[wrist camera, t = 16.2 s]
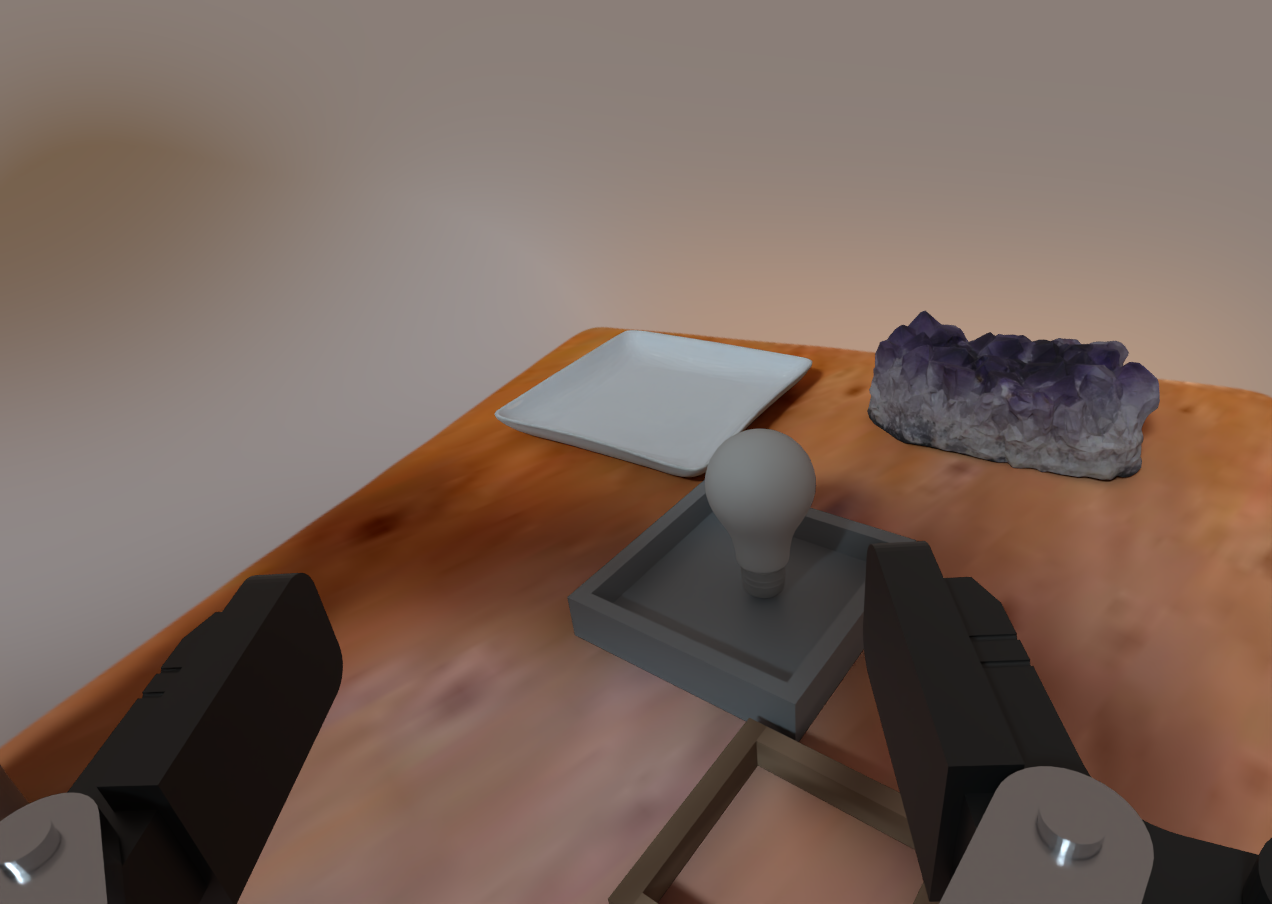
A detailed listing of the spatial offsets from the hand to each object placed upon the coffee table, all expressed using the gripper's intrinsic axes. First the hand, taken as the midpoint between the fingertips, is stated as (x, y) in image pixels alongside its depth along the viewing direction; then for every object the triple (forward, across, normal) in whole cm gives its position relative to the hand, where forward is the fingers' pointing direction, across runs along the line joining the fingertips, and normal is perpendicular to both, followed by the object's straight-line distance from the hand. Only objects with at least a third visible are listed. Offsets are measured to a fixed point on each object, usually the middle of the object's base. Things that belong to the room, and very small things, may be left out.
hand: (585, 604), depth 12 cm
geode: (+47, -24, +26) cm, 59 cm away
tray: (+29, -3, +26) cm, 39 cm away
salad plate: (+55, +2, +27) cm, 61 cm away
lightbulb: (+29, -4, +25) cm, 38 cm away
